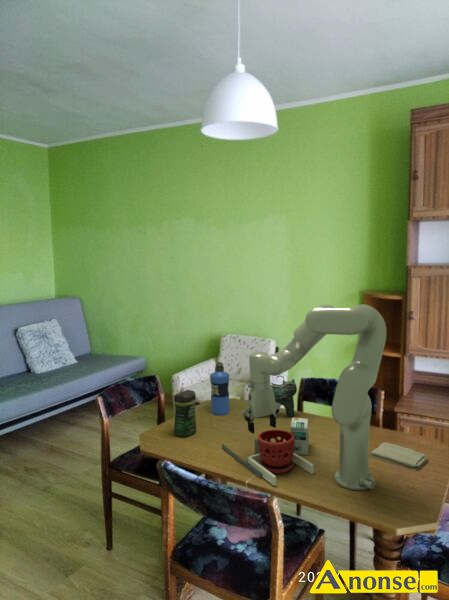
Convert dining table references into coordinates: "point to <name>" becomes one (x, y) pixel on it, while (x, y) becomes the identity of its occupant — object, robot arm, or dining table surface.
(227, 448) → the lane rails
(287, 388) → the ceramic cat
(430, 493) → the dining table surface
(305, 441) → the light bulb box
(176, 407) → the coffee jar
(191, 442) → the dining table surface
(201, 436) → the dining table surface
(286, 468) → the plant pot
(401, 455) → the washcloth
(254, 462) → the white u-shaped frame
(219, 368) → the water bottle
